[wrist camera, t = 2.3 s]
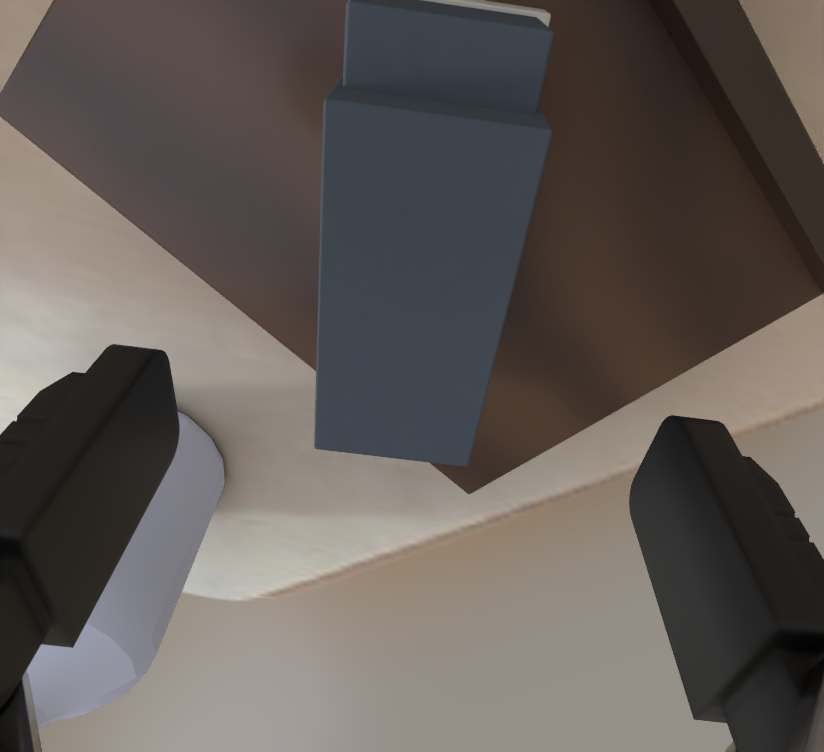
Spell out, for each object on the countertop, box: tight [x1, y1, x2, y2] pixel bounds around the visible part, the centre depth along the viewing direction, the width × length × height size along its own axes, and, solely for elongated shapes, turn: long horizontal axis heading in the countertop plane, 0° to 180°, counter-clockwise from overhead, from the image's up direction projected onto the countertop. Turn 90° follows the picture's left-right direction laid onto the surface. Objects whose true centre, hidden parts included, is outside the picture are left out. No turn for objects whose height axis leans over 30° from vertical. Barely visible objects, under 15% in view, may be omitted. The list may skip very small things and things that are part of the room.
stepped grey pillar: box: [314, 0, 554, 467], centre depth 15 cm, size 11×4×4 cm, turn 173°
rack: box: [0, 0, 824, 494], centre depth 18 cm, size 15×20×7 cm
